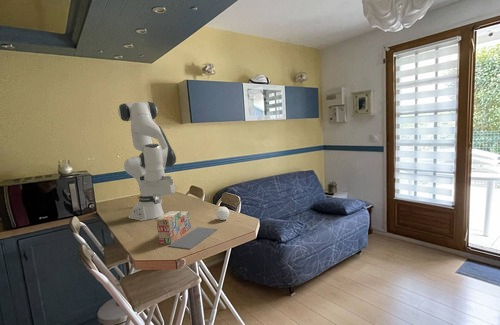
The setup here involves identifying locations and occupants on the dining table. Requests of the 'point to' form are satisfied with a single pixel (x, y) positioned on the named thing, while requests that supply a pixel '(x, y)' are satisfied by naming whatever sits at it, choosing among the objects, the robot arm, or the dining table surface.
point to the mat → (193, 238)
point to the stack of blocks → (172, 226)
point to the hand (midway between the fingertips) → (158, 203)
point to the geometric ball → (222, 213)
